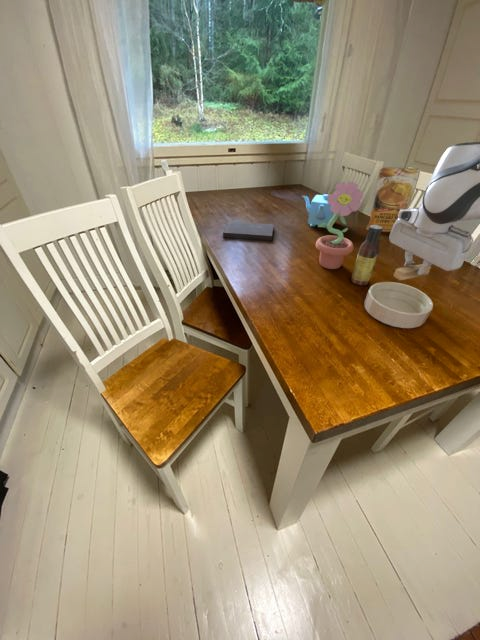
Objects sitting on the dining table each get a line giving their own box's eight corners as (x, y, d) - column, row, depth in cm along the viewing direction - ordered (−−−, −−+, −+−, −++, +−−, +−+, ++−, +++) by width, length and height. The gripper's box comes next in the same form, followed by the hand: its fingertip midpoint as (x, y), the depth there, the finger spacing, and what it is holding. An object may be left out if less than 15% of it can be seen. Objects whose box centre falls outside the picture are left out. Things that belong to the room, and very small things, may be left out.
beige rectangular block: (420, 271, 79) (424, 263, 77) (427, 274, 77) (431, 267, 75) (393, 276, 76) (396, 268, 74) (399, 280, 74) (402, 272, 73)
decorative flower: (304, 267, 107) (319, 184, 88) (314, 254, 116) (329, 176, 97) (343, 276, 101) (368, 190, 82) (350, 261, 111) (374, 181, 92)
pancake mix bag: (360, 226, 142) (378, 166, 125) (398, 228, 141) (421, 167, 124) (363, 231, 137) (382, 169, 120) (403, 233, 136) (427, 170, 118)
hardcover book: (229, 225, 141) (229, 221, 140) (273, 228, 139) (273, 224, 137) (223, 237, 129) (222, 232, 128) (271, 241, 126) (271, 236, 125)
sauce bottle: (371, 286, 96) (391, 231, 84) (353, 286, 96) (370, 230, 84) (364, 277, 101) (382, 223, 89) (347, 276, 101) (363, 223, 89)
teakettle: (324, 217, 154) (330, 188, 145) (346, 228, 140) (354, 198, 131) (295, 221, 148) (299, 192, 139) (316, 233, 135) (321, 202, 125)
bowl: (428, 307, 86) (436, 293, 83) (420, 337, 75) (428, 322, 72) (371, 290, 94) (377, 276, 91) (356, 315, 83) (362, 300, 80)
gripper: (486, 233, 60) (455, 287, 69) (412, 207, 75) (394, 253, 84) (466, 236, 58) (436, 291, 67) (394, 209, 73) (378, 256, 82)
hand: (412, 270), depth 75 cm, fingers closed on beige rectangular block, 2 cm apart
